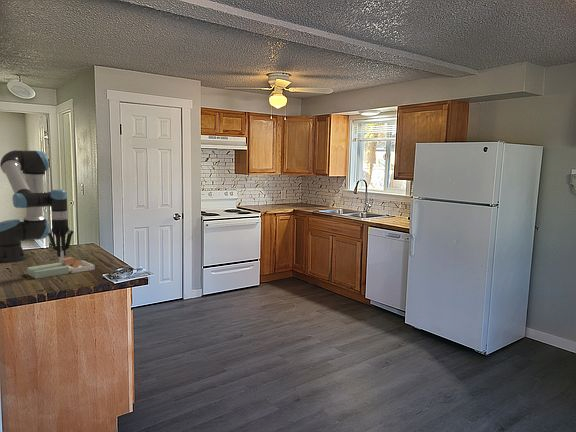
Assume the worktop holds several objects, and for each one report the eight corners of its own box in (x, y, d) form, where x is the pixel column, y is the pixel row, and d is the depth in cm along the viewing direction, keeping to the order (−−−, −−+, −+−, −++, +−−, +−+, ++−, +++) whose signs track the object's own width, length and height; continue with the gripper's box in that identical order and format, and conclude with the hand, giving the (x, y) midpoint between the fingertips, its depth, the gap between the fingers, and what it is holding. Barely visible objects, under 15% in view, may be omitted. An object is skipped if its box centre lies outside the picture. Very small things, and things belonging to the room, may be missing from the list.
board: (27, 273, 227) (26, 267, 227) (59, 268, 239) (59, 262, 238) (36, 278, 218) (35, 272, 218) (69, 273, 230) (68, 266, 230)
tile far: (73, 258, 239) (78, 260, 241) (69, 265, 238) (74, 267, 240) (76, 259, 236) (81, 261, 238) (72, 267, 235) (77, 269, 237)
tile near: (62, 264, 235) (61, 258, 235) (71, 261, 238) (70, 256, 238) (65, 265, 232) (64, 260, 232) (74, 263, 235) (73, 258, 235)
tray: (59, 268, 240) (59, 263, 240) (82, 264, 249) (82, 260, 249) (71, 273, 229) (70, 269, 229) (94, 269, 239) (94, 265, 238)
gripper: (49, 220, 223) (51, 265, 226) (75, 218, 232) (77, 261, 235) (43, 219, 228) (46, 263, 231) (69, 217, 237) (71, 259, 240)
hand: (61, 262), depth 233 cm, fingers closed
